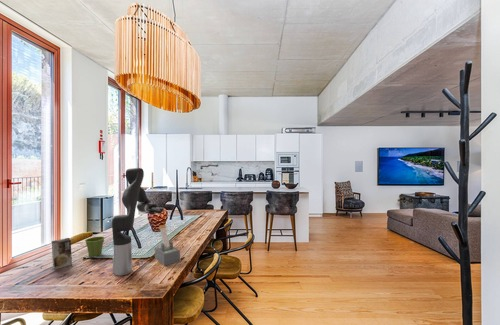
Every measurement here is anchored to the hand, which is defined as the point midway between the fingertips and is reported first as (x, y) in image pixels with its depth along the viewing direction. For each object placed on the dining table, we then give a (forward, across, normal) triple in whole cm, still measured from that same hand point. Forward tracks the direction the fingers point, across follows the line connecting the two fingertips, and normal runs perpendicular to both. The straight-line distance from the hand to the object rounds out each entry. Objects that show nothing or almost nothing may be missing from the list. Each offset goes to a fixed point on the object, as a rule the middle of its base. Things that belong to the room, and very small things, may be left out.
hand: (159, 212), depth 171 cm
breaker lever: (+12, 0, +21) cm, 24 cm away
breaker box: (+11, 0, +29) cm, 31 cm away
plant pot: (-31, -34, +30) cm, 55 cm away
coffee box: (-25, -53, +30) cm, 66 cm away
